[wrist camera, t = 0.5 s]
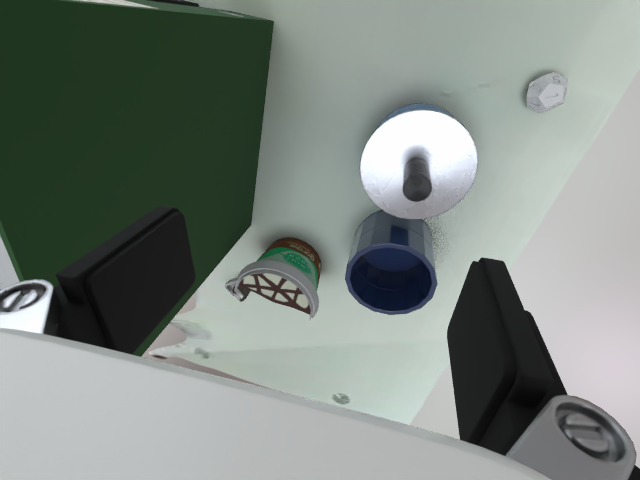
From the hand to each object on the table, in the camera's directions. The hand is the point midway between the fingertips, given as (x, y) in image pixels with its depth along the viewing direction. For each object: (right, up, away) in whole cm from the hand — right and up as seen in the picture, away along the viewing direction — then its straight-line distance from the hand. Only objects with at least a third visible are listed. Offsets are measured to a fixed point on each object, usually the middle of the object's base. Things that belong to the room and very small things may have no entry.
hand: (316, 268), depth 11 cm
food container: (-3, 0, +41) cm, 41 cm away
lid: (+10, +9, +24) cm, 28 cm away
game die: (+23, +16, +23) cm, 37 cm away
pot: (+11, +1, +37) cm, 38 cm away
